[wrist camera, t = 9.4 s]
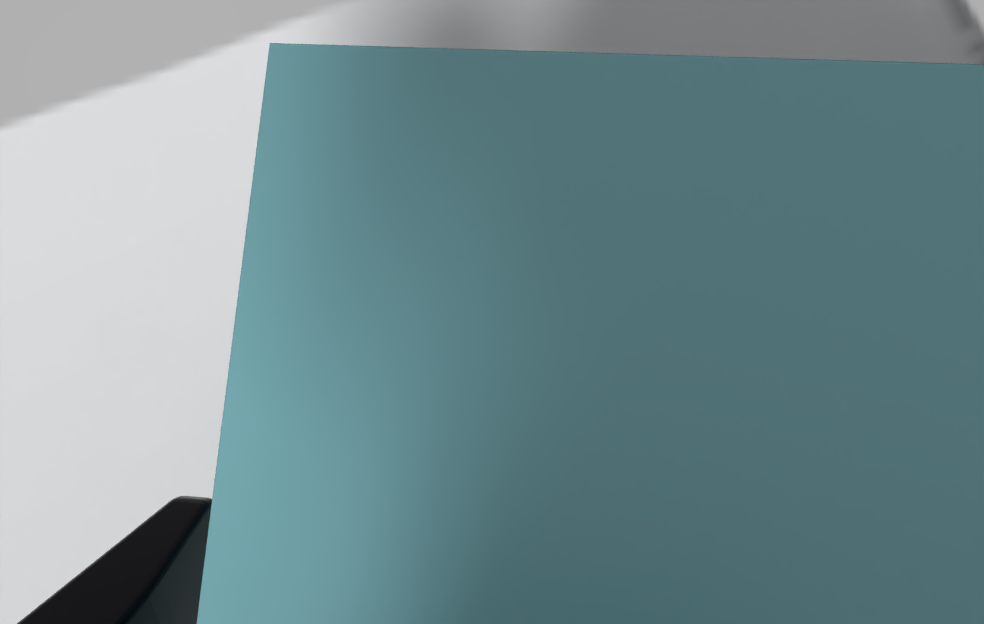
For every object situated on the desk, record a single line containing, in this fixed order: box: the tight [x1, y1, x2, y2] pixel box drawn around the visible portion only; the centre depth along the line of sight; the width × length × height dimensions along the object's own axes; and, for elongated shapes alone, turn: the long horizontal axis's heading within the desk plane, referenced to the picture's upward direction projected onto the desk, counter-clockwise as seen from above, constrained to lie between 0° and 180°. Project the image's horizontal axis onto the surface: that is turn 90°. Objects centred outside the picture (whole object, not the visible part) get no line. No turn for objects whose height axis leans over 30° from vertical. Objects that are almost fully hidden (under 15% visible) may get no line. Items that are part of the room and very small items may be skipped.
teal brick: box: [197, 43, 984, 624], centre depth 11 cm, size 6×6×12 cm
